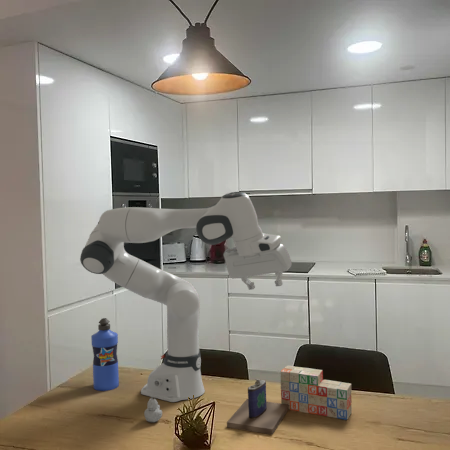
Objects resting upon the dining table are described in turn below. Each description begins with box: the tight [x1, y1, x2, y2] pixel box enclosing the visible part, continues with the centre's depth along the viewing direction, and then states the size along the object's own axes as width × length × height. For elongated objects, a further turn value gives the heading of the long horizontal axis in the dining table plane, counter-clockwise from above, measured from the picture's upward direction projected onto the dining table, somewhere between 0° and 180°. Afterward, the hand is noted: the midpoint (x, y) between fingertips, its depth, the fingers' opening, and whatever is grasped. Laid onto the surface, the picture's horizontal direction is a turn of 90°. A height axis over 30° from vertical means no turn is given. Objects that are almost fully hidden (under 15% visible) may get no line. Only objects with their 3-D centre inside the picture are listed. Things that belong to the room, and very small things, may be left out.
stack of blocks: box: [280, 365, 353, 421], centre depth 154 cm, size 21×6×12 cm, turn 62°
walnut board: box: [226, 398, 290, 435], centre depth 149 cm, size 14×18×2 cm
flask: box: [247, 378, 267, 419], centre depth 149 cm, size 9×3×11 cm, turn 148°
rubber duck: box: [143, 397, 163, 423], centre depth 149 cm, size 5×7×8 cm
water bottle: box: [91, 317, 120, 392], centre depth 178 cm, size 9×9×25 cm
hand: (265, 287), depth 145 cm, fingers open, 8 cm apart
